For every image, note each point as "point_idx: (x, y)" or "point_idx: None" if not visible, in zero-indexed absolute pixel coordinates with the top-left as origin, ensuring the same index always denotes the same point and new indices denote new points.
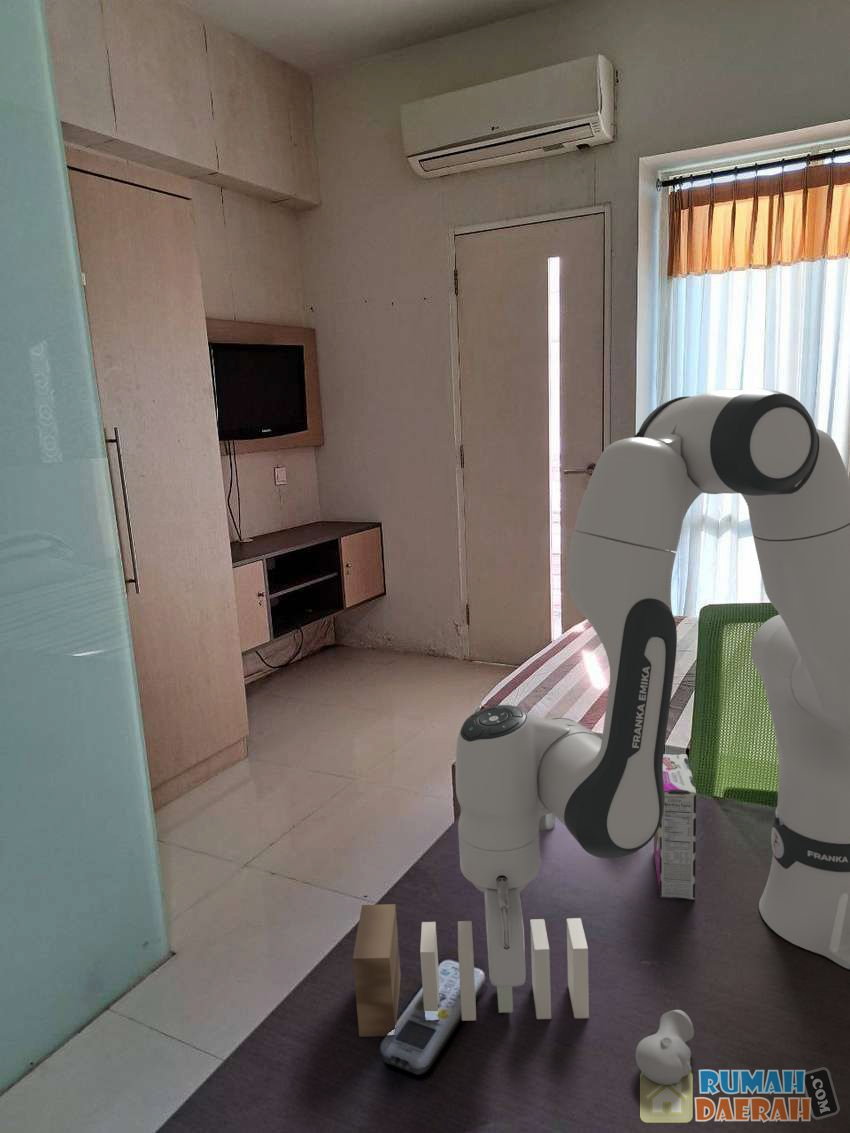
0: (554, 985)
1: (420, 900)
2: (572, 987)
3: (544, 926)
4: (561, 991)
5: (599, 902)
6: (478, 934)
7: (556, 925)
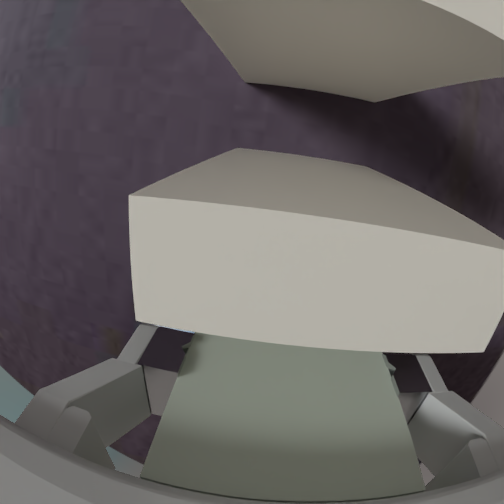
0: (240, 122)
1: (16, 357)
2: (368, 85)
3: (250, 219)
4: (267, 107)
5: (3, 9)
6: (61, 287)
7: (33, 95)
